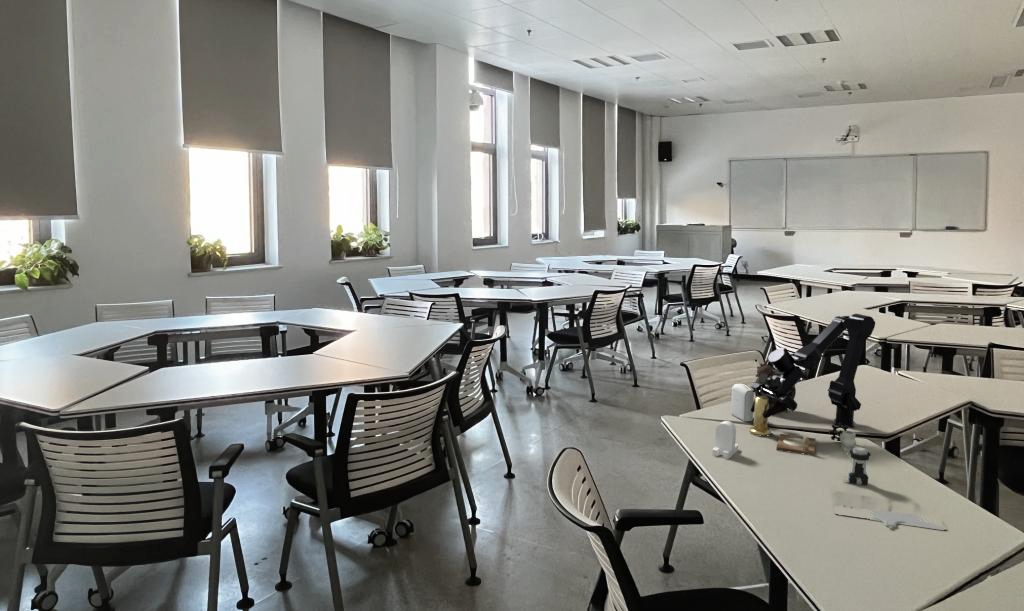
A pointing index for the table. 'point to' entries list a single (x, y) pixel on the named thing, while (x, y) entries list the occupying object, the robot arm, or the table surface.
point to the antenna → (900, 519)
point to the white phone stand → (725, 440)
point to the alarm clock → (770, 372)
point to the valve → (844, 438)
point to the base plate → (796, 444)
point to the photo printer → (742, 402)
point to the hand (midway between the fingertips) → (757, 414)
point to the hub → (760, 417)
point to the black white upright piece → (858, 466)
